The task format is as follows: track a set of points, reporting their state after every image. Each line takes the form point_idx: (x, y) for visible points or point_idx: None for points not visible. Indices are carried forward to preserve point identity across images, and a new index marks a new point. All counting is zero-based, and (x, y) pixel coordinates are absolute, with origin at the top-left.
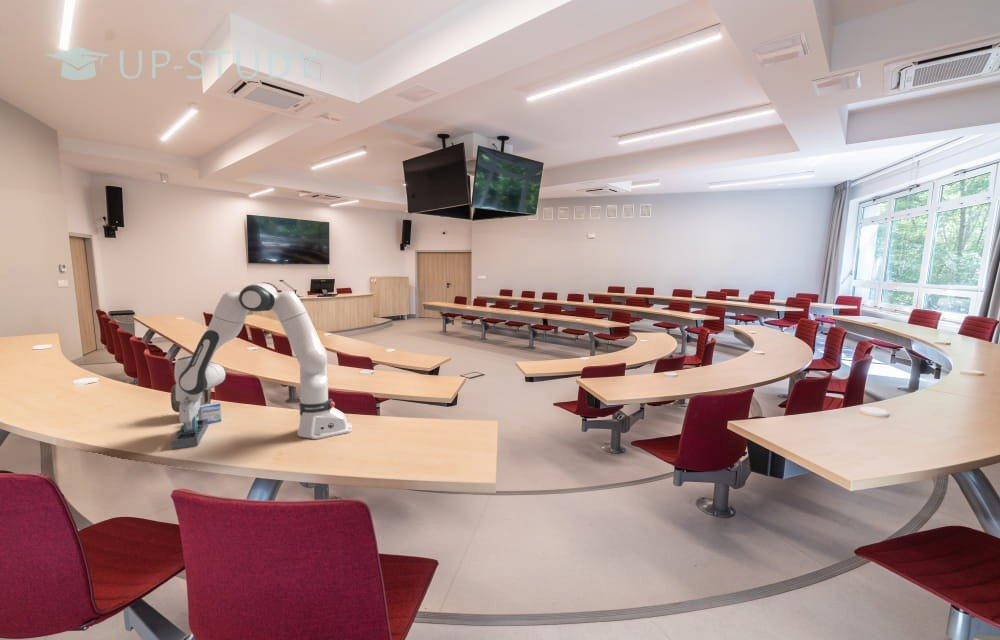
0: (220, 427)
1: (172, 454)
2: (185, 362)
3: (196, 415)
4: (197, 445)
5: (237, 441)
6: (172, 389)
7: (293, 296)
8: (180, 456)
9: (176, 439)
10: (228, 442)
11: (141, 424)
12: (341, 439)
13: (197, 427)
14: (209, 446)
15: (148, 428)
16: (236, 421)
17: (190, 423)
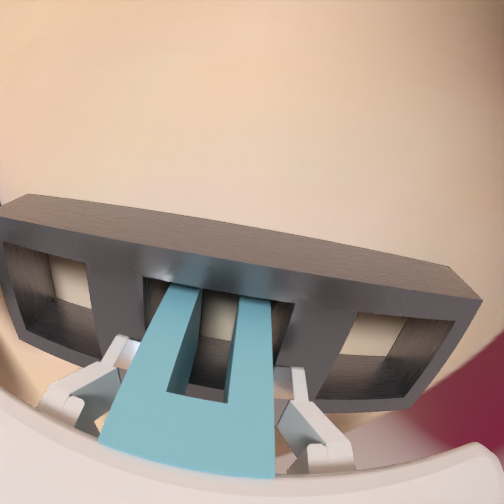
0: (72, 98)
1: (453, 356)
2: None
3: (141, 431)
4: (444, 266)
5: (498, 50)
6: None
7: None
8: (496, 325)
9: (408, 396)
10: (495, 93)
11: (9, 390)
12: None
13: (168, 297)
14: (494, 204)
15: (36, 393)
16: (19, 27)
17: (326, 425)
